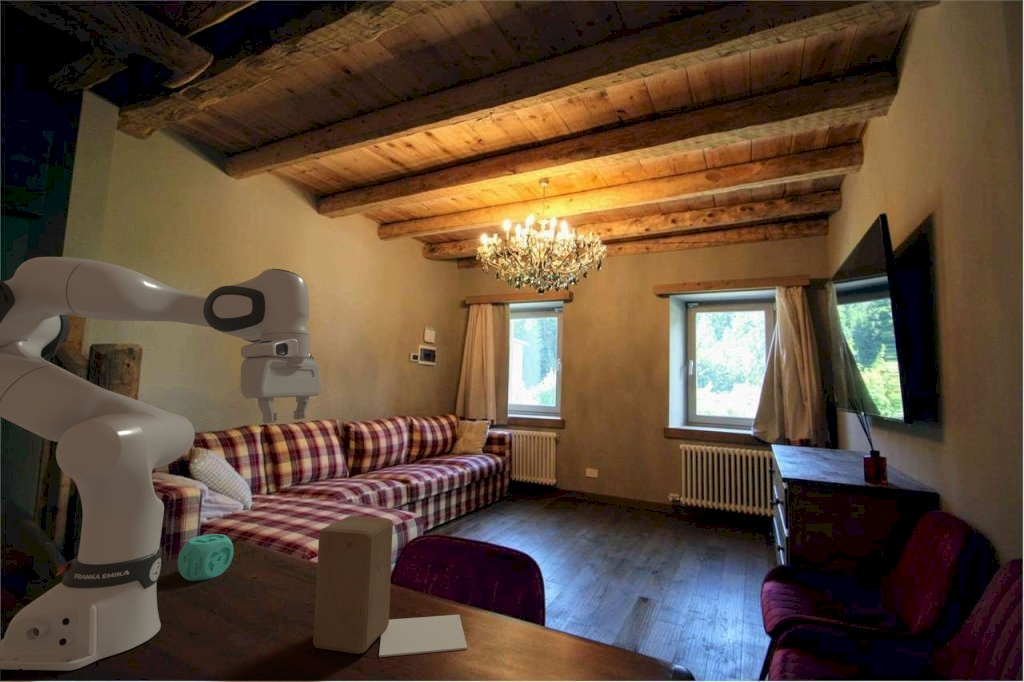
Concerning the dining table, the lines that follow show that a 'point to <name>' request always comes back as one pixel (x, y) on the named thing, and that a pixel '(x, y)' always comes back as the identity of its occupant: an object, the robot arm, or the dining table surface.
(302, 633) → the dining table surface
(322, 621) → the wooden block
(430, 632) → the mat
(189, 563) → the decorative dice
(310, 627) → the dining table surface
